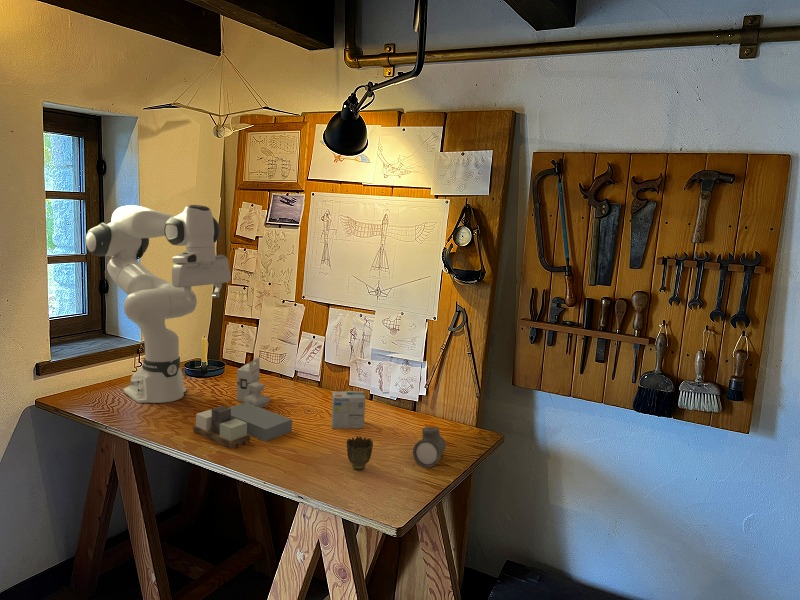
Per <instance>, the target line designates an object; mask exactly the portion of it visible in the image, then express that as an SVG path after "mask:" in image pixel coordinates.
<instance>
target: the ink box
mask: <svg viewBox="0 0 800 600" xmlns="http://www.w3.org/2000/svg"><path fill="white" fill-rule="evenodd" d="M260 365H261V364H260V356H258V357H256V358H255V359H253V360H252V361H250V362H248V363H246V364H244V365H242V366H241V367H240V368H237V370H236V402H241V403H244V402H243V398H244V397H246V396H249V395H252V394H253V392H252V391H250V390H249V388H248V384H251V383H254V382H258V383H260Z"/></svg>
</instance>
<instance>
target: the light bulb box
mask: <svg viewBox="0 0 800 600" xmlns="http://www.w3.org/2000/svg"><path fill="white" fill-rule="evenodd" d="M364 393H365V392H364V391H363V390H358V391H354V390H353V391H349V390H348V391H334V390H333V391H332V395H331V399H332V400H331V428H332V430H333V429H364V428H365V419H366V418H365V417H366V416H365V413H366V395H365V394H364Z"/></svg>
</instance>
